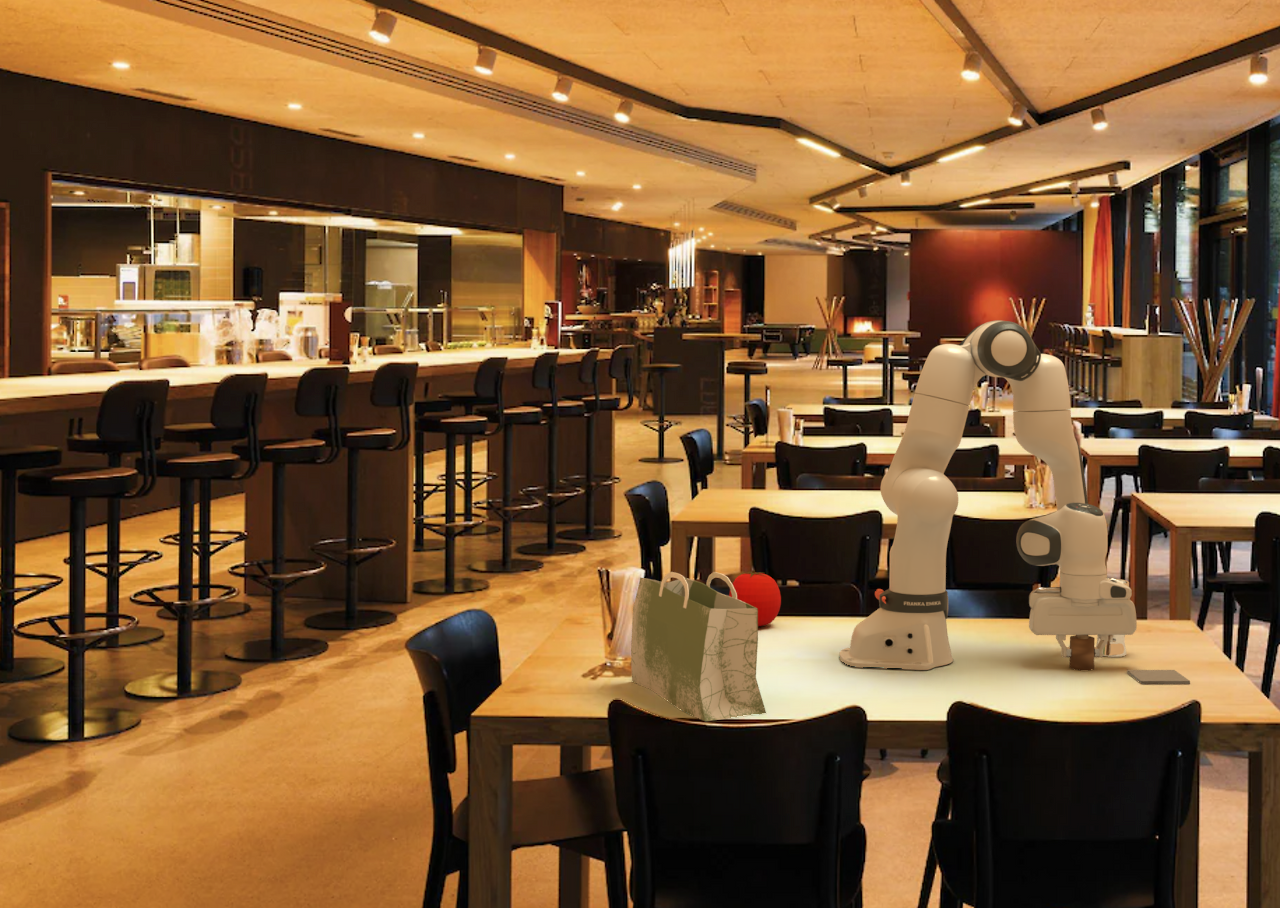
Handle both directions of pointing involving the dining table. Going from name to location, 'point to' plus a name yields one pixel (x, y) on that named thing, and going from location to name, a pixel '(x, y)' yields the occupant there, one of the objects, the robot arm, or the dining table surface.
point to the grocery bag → (696, 647)
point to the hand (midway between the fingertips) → (1081, 656)
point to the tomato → (759, 594)
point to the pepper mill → (1082, 652)
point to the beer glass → (1115, 639)
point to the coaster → (1158, 677)
